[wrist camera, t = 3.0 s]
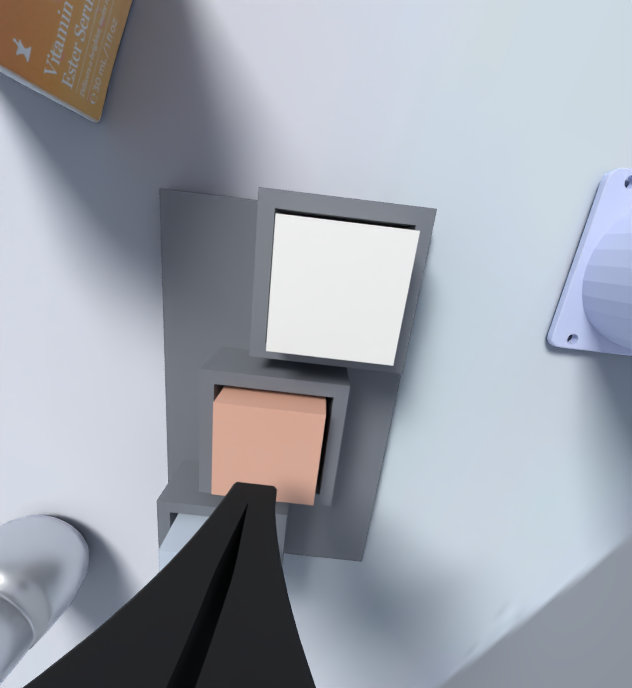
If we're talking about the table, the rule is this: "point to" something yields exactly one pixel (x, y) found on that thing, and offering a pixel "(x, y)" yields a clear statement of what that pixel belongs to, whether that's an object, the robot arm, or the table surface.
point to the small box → (63, 48)
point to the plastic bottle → (36, 581)
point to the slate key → (179, 536)
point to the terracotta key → (267, 441)
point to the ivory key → (338, 288)
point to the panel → (270, 359)
